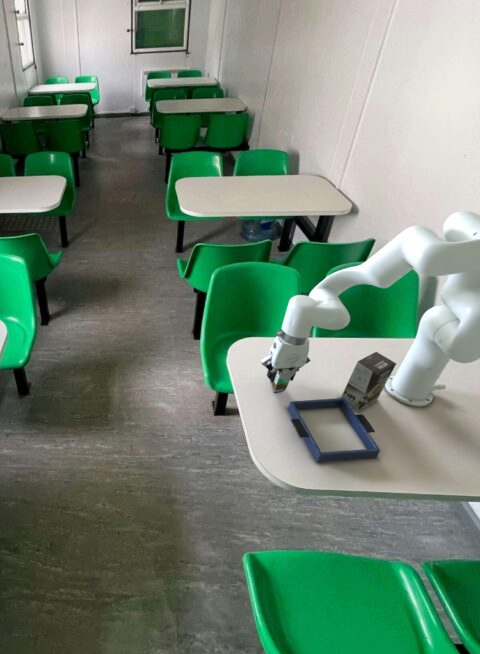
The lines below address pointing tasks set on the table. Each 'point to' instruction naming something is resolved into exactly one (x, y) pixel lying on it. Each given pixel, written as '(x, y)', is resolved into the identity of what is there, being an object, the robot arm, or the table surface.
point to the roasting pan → (356, 421)
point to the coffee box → (367, 380)
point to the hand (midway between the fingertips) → (280, 377)
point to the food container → (282, 379)
